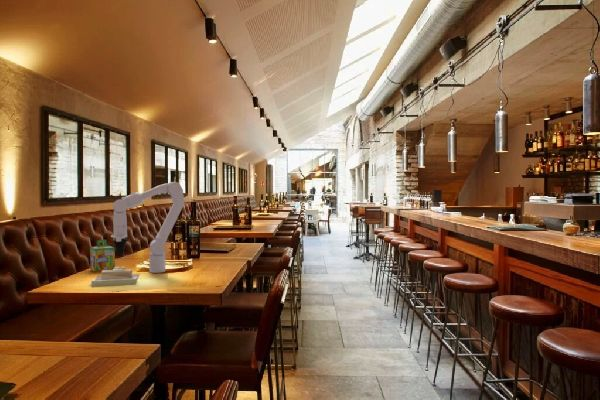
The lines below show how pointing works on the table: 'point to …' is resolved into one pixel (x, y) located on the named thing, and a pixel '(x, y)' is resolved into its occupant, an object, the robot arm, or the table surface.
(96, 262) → the chalk box
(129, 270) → the t block
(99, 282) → the off-white long channel
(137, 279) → the board
